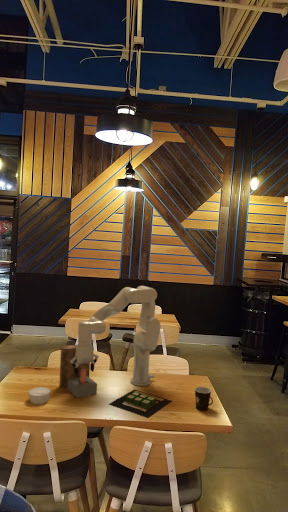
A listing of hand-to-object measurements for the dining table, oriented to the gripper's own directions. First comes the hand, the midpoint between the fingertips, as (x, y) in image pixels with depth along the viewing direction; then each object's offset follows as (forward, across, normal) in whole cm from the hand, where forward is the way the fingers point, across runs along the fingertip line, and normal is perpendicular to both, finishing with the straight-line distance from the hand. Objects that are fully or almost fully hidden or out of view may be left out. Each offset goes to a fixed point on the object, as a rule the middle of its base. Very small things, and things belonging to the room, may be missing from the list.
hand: (84, 372), depth 215 cm
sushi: (+13, -22, +27) cm, 37 cm away
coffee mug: (+13, -47, +49) cm, 69 cm away
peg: (+10, +1, 0) cm, 10 cm away
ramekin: (+11, +26, 0) cm, 28 cm away
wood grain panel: (+11, +1, -10) cm, 15 cm away
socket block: (+11, +1, -1) cm, 11 cm away
